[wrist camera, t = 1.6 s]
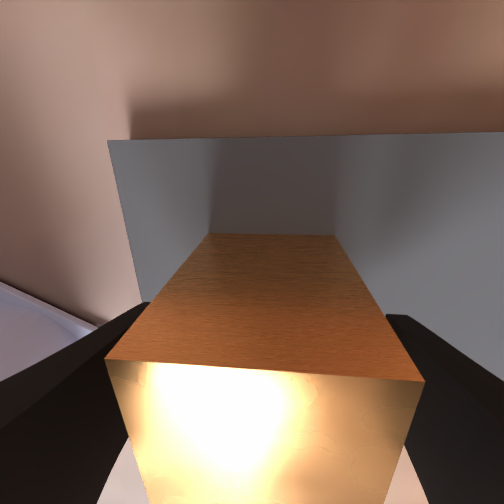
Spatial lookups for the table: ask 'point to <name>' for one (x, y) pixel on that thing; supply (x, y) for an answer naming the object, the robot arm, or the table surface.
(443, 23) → the table surface
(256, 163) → the mat
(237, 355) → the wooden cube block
